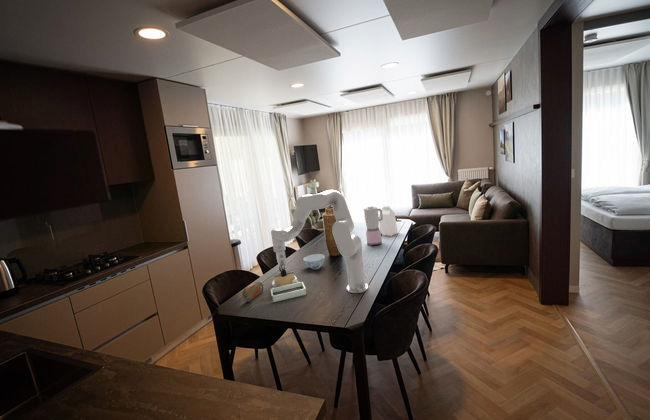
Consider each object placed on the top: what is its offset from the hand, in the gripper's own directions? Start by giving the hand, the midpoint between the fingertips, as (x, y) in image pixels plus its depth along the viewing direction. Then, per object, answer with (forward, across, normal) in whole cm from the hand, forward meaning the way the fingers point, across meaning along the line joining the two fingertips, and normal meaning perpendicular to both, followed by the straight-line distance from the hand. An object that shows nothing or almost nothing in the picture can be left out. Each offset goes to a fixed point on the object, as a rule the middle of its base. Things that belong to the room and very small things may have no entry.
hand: (283, 273), depth 193 cm
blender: (+7, +45, -84) cm, 95 cm away
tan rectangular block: (+6, 0, 0) cm, 7 cm away
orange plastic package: (+8, -9, +20) cm, 23 cm away
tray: (+7, -15, 0) cm, 17 cm away
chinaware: (+8, +19, -24) cm, 32 cm away
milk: (+7, +66, -106) cm, 124 cm away
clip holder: (+7, 0, 0) cm, 8 cm away
